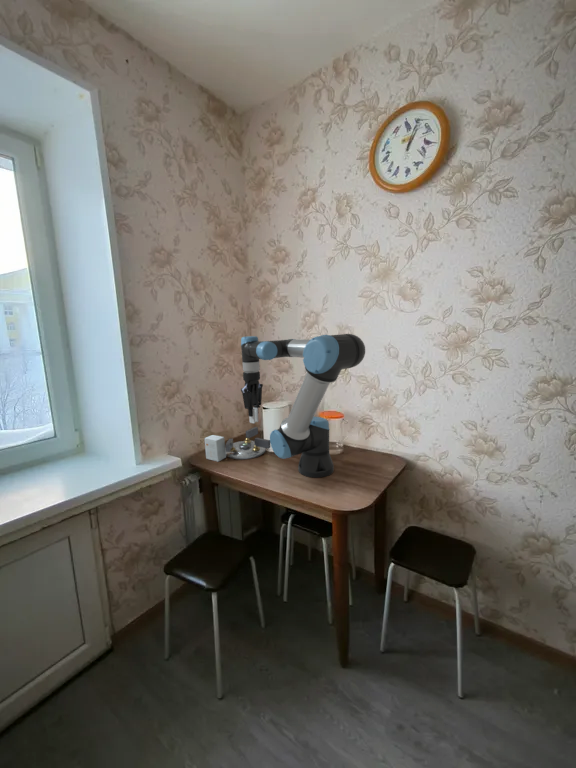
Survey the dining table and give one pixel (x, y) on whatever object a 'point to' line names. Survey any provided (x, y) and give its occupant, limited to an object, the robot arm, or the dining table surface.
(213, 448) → the small box
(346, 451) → the dining table surface
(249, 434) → the knob right
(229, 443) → the knob left
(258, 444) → the knob near
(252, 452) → the plate
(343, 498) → the dining table surface
